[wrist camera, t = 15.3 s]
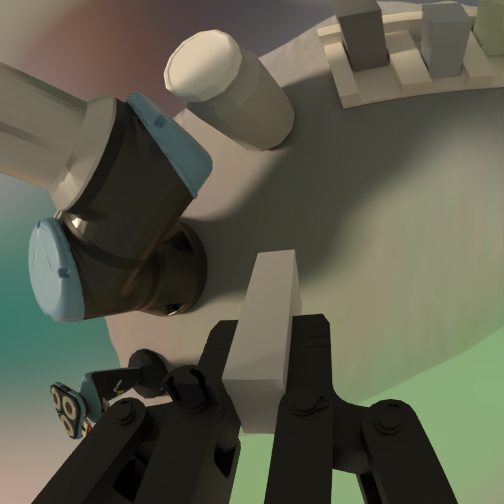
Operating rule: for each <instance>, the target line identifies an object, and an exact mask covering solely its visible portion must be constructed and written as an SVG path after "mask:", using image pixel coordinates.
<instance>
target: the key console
mask: <svg viewBox="0 0 504 504" xmlns="http://www.w3.org/2000/svg"><path fill="white" fill-rule="evenodd" d="M464 10H465V11H466V13H467V14H468V16H469V17H470V19H471V20H472V26H471V30H470V35H469V39H468V43H467V47H466V51H465V55H464V59H463V63H462V67H461V70H460V74H459V75H451V76H441V77H432V78H431V77H430V75H429V73H428V71H427V68H426V66H425V64H424V62H423V60H422V57H421V42H422V11H417V12H407V13H399V14H391V15H384V16H382V20H383V27H384V34H385V42H386V51H387V61H388V66H383V67H377V68H371V69H366V70H361V71H356V72H354V70H353V67H352V64H351V61H350V58H349V56H348V52H347V49H346V46H345V43H344V39H343V36H342V33H341V30H340V27H339V24H336V25H331V26H327V27H323V28H319V29H317V32H318V35H319V37H320V40H321V42H322V44H323V47H324V50H325V53H326V56H327V59H328V62H329V65H330V68H331V71H332V74H333V77H334V81H335V84H336V87H337V90H338V94H339V97H340V100H341V103H342V105H343V108H344V109H345V108H350V107H354V106H359V105H364V104H370V103H375V102H380V101H386V100H392V99H398V98H404V97H410V96H417V95H425V94H432V93H440V92H449V91H459V90H470V89H484V88H502V87H504V56H485V54H484V52H483V50H482V49H481V47H480V45H479V43H478V41H477V40H476V38H475V36H474V35H473V30H474V25H475V21H476V16H477V11H478V9H464Z"/></svg>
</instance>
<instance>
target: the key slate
mask: <svg viewBox="0 0 504 504" xmlns="http://www.w3.org/2000/svg"><path fill="white" fill-rule="evenodd" d="M471 26H472V20H471V19H470V17H469V16H468V14H467V13H466V11H465V10H464V8H463V7H462V5H461V4H460V3H452V4H429V5H422V42H421V57H422V60H423V62H424V64H425V66H426V68H427V71H428V73H429V75H430V77H431V78H432V77H441V76H451V75H459V74H460V70H461V67H462V63H463V59H464V55H465V51H466V47H467V43H468V39H469V35H470V30H471Z"/></svg>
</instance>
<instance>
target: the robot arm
mask: <svg viewBox="0 0 504 504" xmlns="http://www.w3.org/2000/svg"><path fill="white" fill-rule="evenodd" d="M211 171H212V159H211V156H210V155H209V153H208V152H207V151H206V150H205V149H204V148H203V147H202V146H201V145H200V144H199V143H198V142H197V141H196V140H195V139H194V138H193V137H192V136H191V135H190V134H189V133H188V132H187V131H185V130H184V129H183V128H182V127H181V126H180V125H179V124H178V123H177V122H175V121H174V120H173V119H172V118H171V117H170V116H168V115H167V114H166V113H165V112H164V111H163V110H162V109H160V108H159V107H158V106H157V105H156V104H154V103H153V102H152V101H151V100H149V99H148V98H147V97H145V96H143V95H142V94H141V93H139V92H135V93H133V94H132V95H131V96H128V97H127V99H126V102H122V101H120V100H118V99H116V98H115V97H113V96H111V95H104V96H101V97H98V98H96V99H93V100H90V101H84V100H81V99H79V98H77V97H75V96H73V95H71V94H69V93H67V92H65V91H63V90H61V89H59V88H57V87H54V86H52V85H50V84H48V83H46V82H44V81H42V80H39V79H37V78H35V77H33V76H31V75H29V74H26V73H24V72H22V71H20V70H17V69H15V68H13V67H11V66H8V65H6V64H4V63H1V62H0V173H2V174H5V175H8V176H11V177H14V178H17V179H20V180H23V181H26V182H29V183H32V184H35V185H37V186H40V187H43V188H46V189H47V190H48V191H49V193H50V196H51V198H52V200H53V203H54V205H55V207H56V209H57V210H60V211H62V213H61V216H60V217H59V218H58V219H55V218H53V217H48V218H47V219H43V220H41V221H39V222H38V223H37V224H36V226H35V227H34V229H33V231H32V234H31V238H30V243H29V254H28V256H29V273H30V279H31V284H32V288H33V291H34V294H35V297H36V299H37V302H38V304H39V305H40V307H41V309H42V310H43V312H44V313H45V314H46V315H47V316H48V317H49V318H51V319H53V320H55V321H57V322H82V320H87V319H92V318H98V317H104V316H110V315H115V314H121V313H126V312H131V311H141V312H145V313H148V314H152V315H156V316H172V315H177V314H180V313H183V312H185V311H187V310H188V309H190V308H191V307H192V306H193V305H194V304H195V303H196V302H197V300H198V299H199V297H200V295H201V294H202V291H203V289H204V285H205V281H206V275H207V263H206V256H205V252H204V249H203V246H202V244H201V242H200V240H199V238H198V237H197V235H196V234H195V233H194V232H193V231H192V230H191V229H190V228H189V227H188V226H186V225H185V224H183V223H181V222H178V221H177V220H178V219H179V217H180V216H181V215H182V213H183V212H184V211H185V209H186V208H187V207H188V205H189V204H190V203H191V202H192V200H193V199H196V197H197V195H198V194H197V192H198V191H199V190H200V188H201V187H202V185H203V184H204V182H205V181H206V180H207V178H208V177H209V175H210V174H211ZM301 309H302V302H301V294H300V286H299V279H298V271H297V264H296V257H295V250H284V251H273V252H263V253H258V255H257V258H256V262H255V265H254V269H253V272H252V276H251V279H250V283H249V286H248V290H247V293H246V297H245V300H244V304H243V307H242V310H241V314H240V317H239V320H223V321H219V322H218V323H217V324H216V325H215V327H214V328H213V329H212V330H211V331H210V334H209V336H208V339H207V344H205V347H204V350H203V353H202V355H201V358H200V360H199V363H198V366H196V365H185V366H181V367H179V368H176V369H174V370H172V371H171V372H170V373H168V374H167V375H166V376H165V378H164V379H163V381H162V383H163V385H164V387H165V388H166V390H167V392H168V393H169V395H170V397H171V398H172V400H173V401H172V402H169V403H165V404H160V405H154V406H148V407H145V405H144V404H143V402H141V401H140V400H138V399H136V398H131V397H129V398H123V399H120V400H118V401H116V402H115V403H114V404H113V405H111V406H110V407H109V408H108V410H107V411H106V412H105V413H104V415H103V416H102V417H101V418H100V419H99V421H98V422H97V423H96V424H95V425H94V427H93V428H92V429H91V430H90V432H89V433H88V434H87V435H86V436H85V438H84V439H83V440H82V441H81V443H80V444H79V445H78V446H77V447H76V449H75V450H74V451H73V452H72V454H71V455H70V456H69V458H68V459H67V460H66V461H65V462H64V463H63V465H62V466H61V467H60V469H59V470H58V471H57V472H56V473H55V475H54V476H53V477H52V478H51V480H50V481H49V482H48V483H47V485H46V486H45V487H44V488H43V490H42V491H41V492H40V493H39V494H38V496H37V497H36V498H35V499H34V501H33V502H32V503H31V504H229V501H230V496H231V492H232V487H233V483H234V478H235V473H236V469H237V464H238V459H239V455H240V450H241V445H240V444H241V443H240V441H239V438H238V435H239V430H240V426H241V427H242V429H243V431H244V433H265V434H266V433H267V434H269V433H270V434H275V435H274V442H273V449H272V455H271V462H270V469H269V476H268V481H267V488H266V494H265V500H264V504H331V490H332V489H331V488H332V469H336V470H340V471H345V472H349V473H354V474H356V477H357V480H358V483H359V487H360V490H361V493H362V496H363V500H364V503H365V504H458V503H457V500H456V498H455V495H454V493H453V491H452V488H451V486H450V484H449V482H448V479H447V477H446V475H445V473H444V471H443V468H442V466H441V464H440V462H439V460H438V458H437V456H436V453H435V451H434V449H433V447H432V445H431V443H430V441H429V439H428V437H427V435H426V433H425V431H424V429H423V427H422V425H421V423H420V421H419V419H418V417H417V415H416V413H415V411H414V410H413V409H412V408H411V407H410V406H409V405H408V404H406V403H405V402H403V401H401V400H394V399H387V400H381V401H379V402H377V403H375V404H373V405H372V406H370V407H364V406H358V405H354V404H350V403H347V402H346V401H344V400H342V399H341V398H340V397H339V396H338V395H337V394H336V393H335V391H334V389H333V384H332V361H331V339H330V323H329V322H328V321H327V319H326V318H325V316H324V315H323V314H313V315H301Z"/></svg>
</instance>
